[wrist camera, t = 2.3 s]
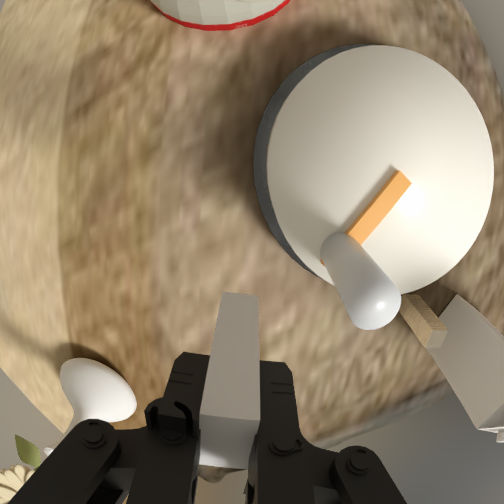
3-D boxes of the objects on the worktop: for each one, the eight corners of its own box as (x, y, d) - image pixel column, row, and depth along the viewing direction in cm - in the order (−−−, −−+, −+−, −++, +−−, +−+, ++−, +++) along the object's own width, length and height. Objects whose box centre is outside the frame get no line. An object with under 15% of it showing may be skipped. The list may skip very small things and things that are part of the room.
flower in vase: (152, 411, 37) (109, 571, 14) (88, 407, 38) (32, 539, 14) (113, 338, 32) (19, 526, 9) (46, 340, 33) (-48, 480, 10)
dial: (364, 11, 18) (424, -45, 8) (501, 168, 22) (580, 193, 12) (214, 188, 24) (185, 230, 14) (383, 316, 28) (428, 393, 18)
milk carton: (455, 292, 30) (552, 400, 12) (481, 313, 31) (563, 408, 14) (419, 338, 32) (492, 460, 15) (448, 354, 33) (514, 459, 16)
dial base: (270, 26, 21) (276, -7, 14) (479, 93, 22) (524, 91, 15) (235, 294, 30) (231, 338, 23) (429, 311, 31) (457, 346, 24)
